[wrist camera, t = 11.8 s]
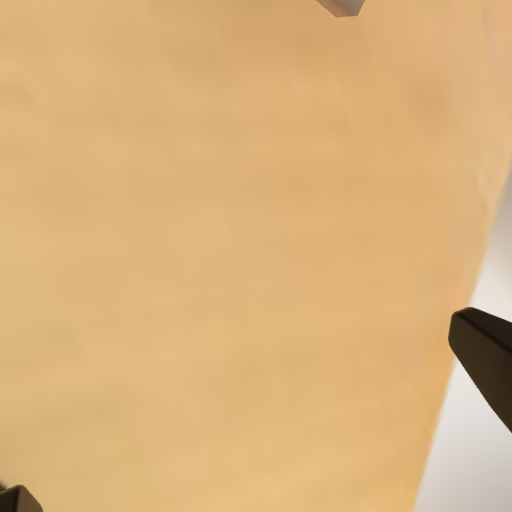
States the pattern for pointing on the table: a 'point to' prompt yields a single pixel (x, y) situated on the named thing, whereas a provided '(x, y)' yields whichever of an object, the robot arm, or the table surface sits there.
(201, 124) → the table surface
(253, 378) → the table surface
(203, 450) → the table surface
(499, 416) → the robot arm
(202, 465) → the table surface
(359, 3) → the small stand
